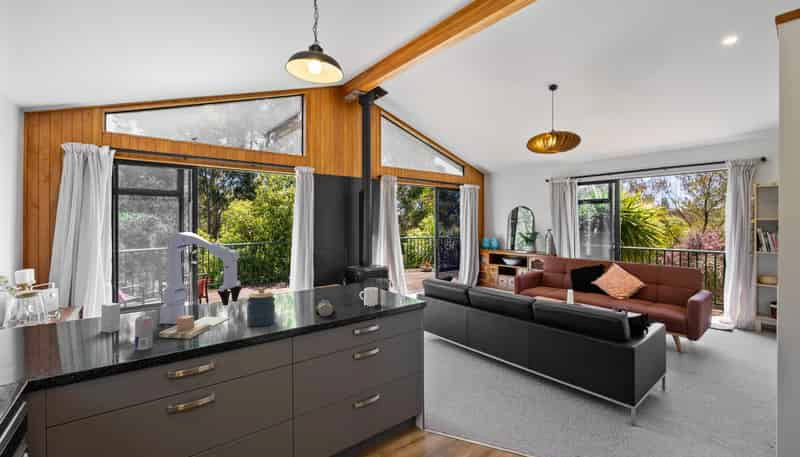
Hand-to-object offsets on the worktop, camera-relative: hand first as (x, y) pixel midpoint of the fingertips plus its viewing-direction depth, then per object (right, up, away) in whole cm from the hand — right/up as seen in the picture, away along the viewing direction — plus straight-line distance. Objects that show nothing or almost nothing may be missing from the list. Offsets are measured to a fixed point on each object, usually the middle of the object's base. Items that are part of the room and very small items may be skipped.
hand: (230, 303), depth 163 cm
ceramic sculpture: (+41, -11, +21) cm, 47 cm away
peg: (-13, -10, -13) cm, 21 cm away
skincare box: (-47, -10, -12) cm, 50 cm away
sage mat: (-12, -10, +3) cm, 16 cm away
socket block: (-13, -10, -13) cm, 21 cm away
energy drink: (-18, -11, -31) cm, 38 cm away
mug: (+63, -10, +41) cm, 76 cm away
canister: (+14, -11, +2) cm, 18 cm away
